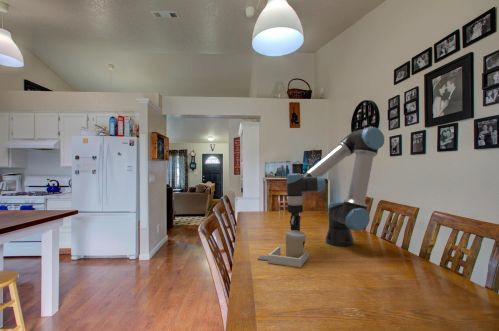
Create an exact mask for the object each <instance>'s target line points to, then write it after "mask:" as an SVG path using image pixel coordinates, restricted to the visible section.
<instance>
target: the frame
mask: <svg viewBox="0 0 499 331" xmlns="http://www.w3.org/2000/svg"><path fill="white" fill-rule="evenodd" d="M281 253H282V252H281V246H277V247H275V249H274V250H272V252H270V253H269V254H267V256H268V261H267V262H268V264H275V265H281V266H288V267H295V268H302V266H303V265H304V264H305V263H306V261H307V260H308V259H309V249H305V251H303V254H302V255H301V256H300V258H293V257H286V255H281Z"/></svg>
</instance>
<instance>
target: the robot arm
mask: <svg viewBox="0 0 499 331" xmlns="http://www.w3.org/2000/svg"><path fill="white" fill-rule="evenodd" d="M384 144H385V136H384V133H383V132H382V130H380V129H379V128H378V127H373V126H371V127H370V126H369V127H364V128H362V129H358V130H354V131H351V133H349V134H348V135H346V137H344V138H343V139H342V140H341V141H339V142H338V143H337V146H336V147H335V148H334V149H332V150H331V151H330V152H329V153H328V154H326V155H325V156H324V157H323V158H322V159H320V160H319V161H318V162H317V163H315V164H314V165H313V166H312V167H311V168H309V169H308V170H306V172H304V173H288V174H287V175H286V201H287V207H286V208H287V212H288V213H289V214H291V215H290V220H289V225H290V230H297V231H301V216H300V214H301V213H303V212H304V210H303V206H304V205H303V202H304V201H303V193H306V192H307V193H311V192H312V193H313V192H317V193H318V192H323V191H325V189H326V180H325V178H324V177H323V176H324V175H326V174H328V172H329V171H331V170H332V169H334V167H335V166H336V165H338V164H339V163H340V162H341V161H343V160H344V159H345V158H346V157H350V156H352V155H353V154H355V159H354V164H353V170H352V175H351V180H350V185H349V188H348V189H349V190H348V195H347V198H346V199H345V200H344V201H342V202H341V201H339V202H329V203H328V209H327V211H328V212H327V213H328V217H327V218H328V229H327V233H326V235H325V243H327V245H331V246H336V247H349V246H350V247H351V246H353V245H354V243H355V242H354V237H353V234H352V231H356V232H357V231H363V230H364V229H365V228H367V227H368V225H369V223H370V218H371V217H370V214H369V212H368V210H367V209H368V204H366V197H367V193H368V189H369V188H368V187H369V182H370V177H371V173H372V167H373V166H372V165H373V160H374V158H375V157H376V156H377V155H378V151H379V150H380V148H382V147H383V146H384Z"/></svg>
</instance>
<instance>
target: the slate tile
mask: <svg viewBox="0 0 499 331" xmlns="http://www.w3.org/2000/svg"><path fill="white" fill-rule="evenodd" d="M257 261H263V262H268V255H259V257H258V258H257Z"/></svg>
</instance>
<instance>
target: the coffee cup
mask: <svg viewBox="0 0 499 331" xmlns="http://www.w3.org/2000/svg"><path fill="white" fill-rule="evenodd" d="M306 238H307V236H306V233H305V232H303V231H301V230H300V231H297V230H291V229H289V230H287V231H286V232H285V257H293V258H300V256H301V255H302V254H303V253H304V252H305V251H304V249H305V243H306Z"/></svg>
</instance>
